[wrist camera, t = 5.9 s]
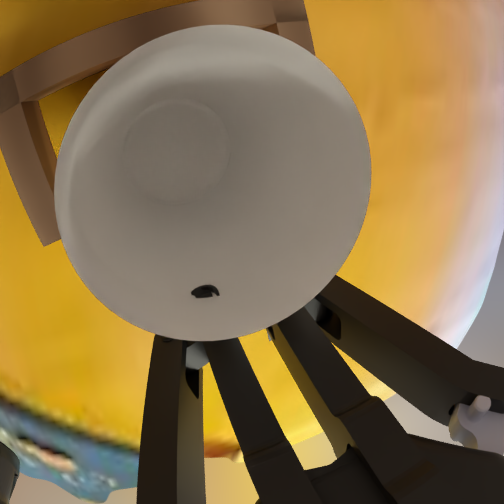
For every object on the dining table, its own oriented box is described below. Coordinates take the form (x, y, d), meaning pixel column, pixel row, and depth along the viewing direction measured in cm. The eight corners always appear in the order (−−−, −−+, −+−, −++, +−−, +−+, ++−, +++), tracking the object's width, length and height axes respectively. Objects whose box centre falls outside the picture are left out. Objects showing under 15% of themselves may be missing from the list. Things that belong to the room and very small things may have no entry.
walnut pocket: (54, 226, 17) (43, 246, 15) (4, 87, 12) (-17, 88, 9) (305, 138, 20) (329, 145, 18) (279, 2, 15) (301, -9, 12)
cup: (105, 81, 14) (52, 21, 4) (251, 84, 17) (388, 59, 7) (107, 226, 18) (82, 359, 8) (242, 218, 21) (346, 320, 11)
